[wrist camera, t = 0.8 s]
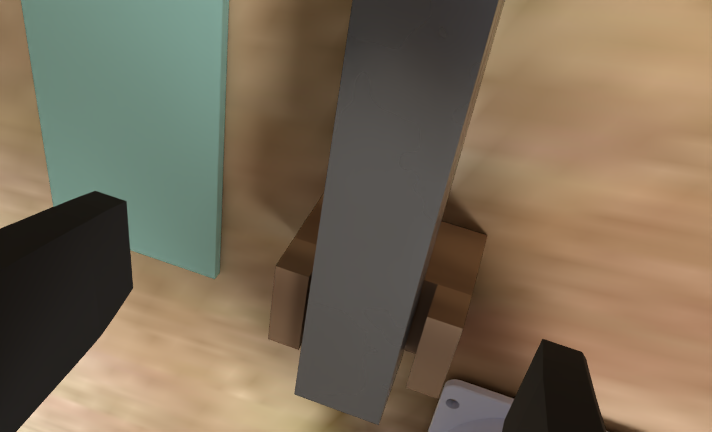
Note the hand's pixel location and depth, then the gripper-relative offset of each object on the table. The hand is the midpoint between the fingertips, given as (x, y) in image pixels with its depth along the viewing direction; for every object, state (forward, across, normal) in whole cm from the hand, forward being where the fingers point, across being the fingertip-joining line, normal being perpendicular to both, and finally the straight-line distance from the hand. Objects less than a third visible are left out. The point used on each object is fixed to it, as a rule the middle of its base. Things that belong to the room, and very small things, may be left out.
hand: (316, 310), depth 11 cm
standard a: (+10, 0, +6) cm, 11 cm away
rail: (+7, 0, 0) cm, 7 cm away
